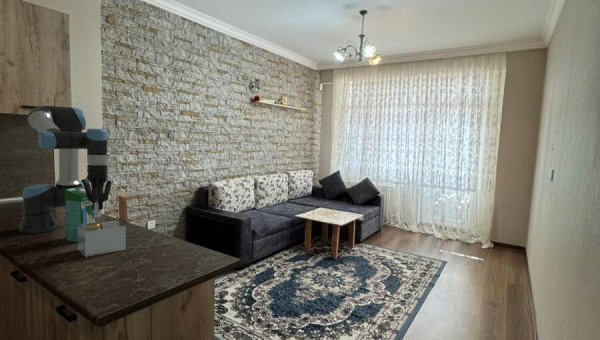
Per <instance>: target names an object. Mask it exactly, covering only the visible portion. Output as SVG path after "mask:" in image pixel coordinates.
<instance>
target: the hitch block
mask: <svg viewBox="0 0 600 340" xmlns="http://www.w3.org/2000/svg"><path fill="white" fill-rule="evenodd" d="M101 223H103V227H101V228H98V229H86V225H80V226H78V242H77V251H79V252H80V253H81V254H82V256H83V257H84V256H85V258H90V257H94V255H95V256H99V255H104V254H105V255H106V254H110V253H115V252H120V251H124V250H126V249H127V246H126V244H127V242H126V241H127V240H126V238H127V235H126V234H127V233H126V232H127V231H126V229H127V228H126V227H127V226H126V224H124V223H123V222H121V221H120V220H119V221H118V220H110V221H102V222H101ZM89 256H90V257H89Z"/></svg>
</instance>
